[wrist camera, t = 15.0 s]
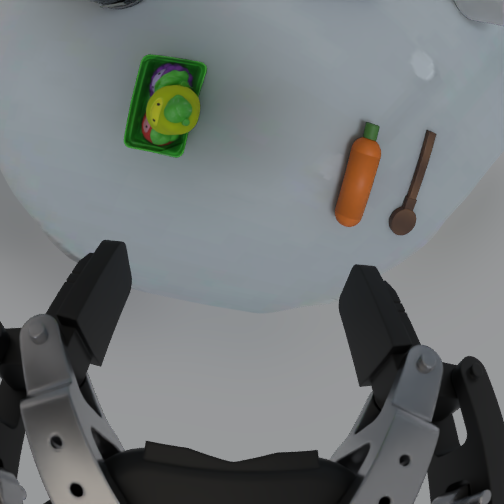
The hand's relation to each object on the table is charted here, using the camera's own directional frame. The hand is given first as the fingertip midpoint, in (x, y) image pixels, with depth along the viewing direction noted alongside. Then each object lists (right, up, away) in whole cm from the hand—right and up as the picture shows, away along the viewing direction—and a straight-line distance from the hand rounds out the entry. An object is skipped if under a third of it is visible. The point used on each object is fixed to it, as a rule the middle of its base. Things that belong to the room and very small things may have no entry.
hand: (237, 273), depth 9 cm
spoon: (+25, +11, +26) cm, 38 cm away
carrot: (+14, +11, +26) cm, 32 cm away
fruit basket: (-9, +19, +21) cm, 30 cm away
